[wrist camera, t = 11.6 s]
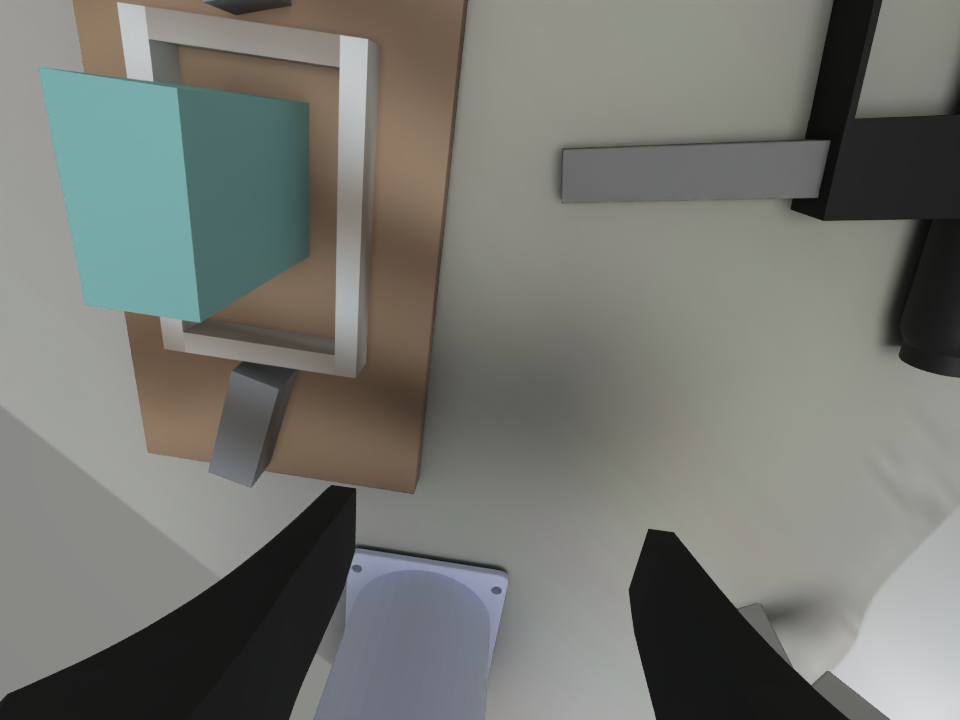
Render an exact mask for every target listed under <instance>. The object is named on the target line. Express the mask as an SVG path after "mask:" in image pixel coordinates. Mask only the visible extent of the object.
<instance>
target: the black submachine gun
mask: <svg viewBox="0 0 960 720" xmlns="http://www.w3.org/2000/svg"><path fill="white" fill-rule="evenodd" d="M881 4H882V0H834V2H833V7H832V12H831V17H830V22H829V27H828V32H827V37H826V41H825V46H824V51H823V56H822V61H821V66H820V71H819V76H818V81H817V86H816V91H815V96H814V101H813V106H812V110H811V115H810V120H809V122H808V127H807V132H806V136H805V139H804V140H775V141H748V142H721V143H694V144H668V145H641V146H615V147H588V148H563V158H562V196H561V199H562V203H596V202H642V201H689V200H736V199H783V198H793V200H792V205H791V210H794V211H797V212H799V213H802V214H805V215H808V216H811V217H814V218H817V219H820V220H823V221H838V220H901V219H933V220H932V223H931V226H930V229H929V232H928V235H927V239H926V242H925V245H924V248H923V251H922V255H921V258H920V261H919V264H918V267H917V271H916V274H915V277H914V280H913V283H912V286H911V290H910V293H909V296H908V299H907V302H906V306H905V309H904V312H903V315H902V319H901V334H902V337H903V343H902V346H901V349H900V352H899V358H900V359H901V360H902V361H904V362H905V363H907V364H909V365H911V366H913V367H915V368H918V369H921V370H924V371H927V372H931V373H935V374H939V375H944V376H950V377H958V378H960V115H937V116H912V117H887V118H863V119H855V114H856V110H857V106H858V102H859V97H860V93H861V89H862V85H863V80H864V76H865V72H866V68H867V63H868V59H869V55H870V51H871V46H872V42H873V38H874V34H875V29H876V25H877V21H878V17H879V12H880V8H881Z"/></svg>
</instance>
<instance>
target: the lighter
mask: <svg viewBox="0 0 960 720" xmlns="http://www.w3.org/2000/svg"><path fill="white" fill-rule="evenodd" d="M737 610H738V611H739V612H740V613H741V614H742V615H743V617H744V618H745V619H746V620H747V621H748V622H749V623H750V624H751V625H752V626H753V628H754V629H755V630H756V631H757V632H758V633H759V634H760V635H761V636H762V637H763V638H764V639H765V640H766V641H767V643H768V644H769V645H770V646H771V647H772V648H773V649H774V650H775V651H776V652H777V653H778V654H779V655H780V656H781V657H782V658H783V659H784V660H785V661H786V662H787V663H788V664H789V665H790V666H791V667H792V668H793V666H792V664H791V662H790V661H789V659H788V657H787V655H786V653H785V651H784V649H783V647H782V645H781V643H780V641H779V639H778V637H777V635H776V633H775V631H774V629H773V627H772V625H771V623H770V621H769V619H768V617H767V615H766V613H765V611H764V609H763V607H762V605H760V604H754V605H750V606H747V607H744V608H740V609H737ZM793 669H794V668H793ZM811 686H812V687H813V688H814V689H815V690H816V691H818V692H819V693H820V694H821V695H822V696H823V697H824V698H825V699H826V700H828V701H829V702H830V703H831V704H832V705H833V706H834V707H836V708H837V709H838V710H839V711H840V712H841V713H843V714H844V715H845V716H846V717H847V718H848V719H850V720H890V719H889V718H888V717H886V716H885V715H884V714H883V713H881V712H880V711H879V710H878V709H876V708H875V707H874V706H873V705H871V704H870V703H869V702H867V701H866V700H865V699H864V698H862V697H861V696H860V695H859V694H857V693H856V692H855V691H853V690H852V689H851V688H850V687H848V686H847V685H846V684H845V683H843V682H842V681H841V680H840V679H838V678H837V677H836V676H834V675H833V674H832V673H831V672H830V671H826V672H825V673H824V674H823V675H822V676H821V677H820V678H819V679H818V680H817V681H815V682H814V683H813V684H812V685H811Z"/></svg>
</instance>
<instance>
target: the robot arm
mask: <svg viewBox="0 0 960 720" xmlns="http://www.w3.org/2000/svg"><path fill="white" fill-rule="evenodd" d="M355 533H356V488H349V487H342V486H335V485H331V486H330V487H328V488H327V489H326V490H325V491H324V492H323V493H322V494H321V495H320V496H319V497H318V498H317V499H316V500H315V501H314V502H313V503H312V504H311V505H310V506H308V507H307V508H306V509H305V510H304V511H303V512H302V513H301V514H300V515H299V516H298V517H297V518H296V519H295V520H293V521H292V522H291V523H290V524H289V525H288V526H287V527H286V528H284V529H283V530H282V531H281V532H280V533H279V534H278V535H276V536H275V537H274V538H273V539H272V540H271V541H270V542H268V543H267V544H266V545H265V546H264V547H262V548H261V549H260V550H259V551H257V552H256V553H255V554H254V555H252V556H251V557H250V558H249V559H247V560H246V561H245V562H244V563H242V564H241V565H240V566H239V567H237V568H236V569H235V570H233V571H232V572H231V573H229V574H228V575H227V576H225V577H224V578H223V579H221V580H220V581H218V582H217V583H216V584H214V585H213V586H211V587H210V588H208V589H207V590H205V591H204V592H203V593H201V594H200V595H198V596H197V597H195V598H194V599H192V600H191V601H189V602H187V603H186V604H184V605H182V606H181V607H179V608H178V609H176V610H174V611H173V612H171V613H169V614H168V615H166V616H165V617H163V618H161V619H160V620H158V621H156V622H154V623H153V624H151V625H149V626H148V627H147V628H144V629H142V630H141V631H139V632H137V633H135V634H134V635H131V636H130V637H128V638H126V639H124V640H122V641H121V642H118V643H117V644H115V645H113V646H111V647H109V648H107V649H105V650H103V651H101V652H99V653H97V654H95V655H93V656H91V657H89V658H87V659H85V660H83V661H81V662H79V663H76V664H74V665H72V666H70V667H68V668H66V669H63V670H61V671H59V672H57V673H54V674H52V675H50V676H48V677H45V678H43V679H41V680H39V681H36V682H34V683H32V684H30V685H27V686H25V687H23V688H21V689H18V690H16V691H14V692H11V693H9V694H7V695H6V696H5V697H4V698H3V700H2V701H0V720H289V718H290V715H291V712H292V709H293V706H294V703H295V700H296V698H297V696H298V693H299V690H300V688H301V686H302V683H303V681H304V678H305V676H306V674H307V671H308V669H309V667H310V665H311V662H312V660H313V658H314V656H315V653H316V651H317V649H318V647H319V644H320V642H321V640H322V638H323V635H324V633H325V631H326V629H327V626H328V624H329V622H330V620H331V617H332V615H333V613H334V610H335V608H336V606H337V603H338V601H339V599H340V597H341V594H342V592H343V589H344V586H345V583H346V580H347V586H346V615H345V630H344V633H343V636H342V639H341V642H340V645H339V648H338V650H337V653H336V656H335V659H334V662H333V665H332V668H331V671H330V673H329V676H328V679H327V682H326V685H325V688H324V691H323V693H322V696H321V699H320V702H319V705H318V708H317V711H316V714H315V716H314V719H313V720H485V707H486V691H487V678H488V674H489V669H490V665H491V660H492V656H493V651H494V646H495V642H496V637H497V633H498V628H499V623H500V619H501V614H502V610H503V605H504V601H505V596H506V591H507V587H508V576H507V574H506V573H505V572H503V571H500V570H494V569H488V568H481V567H475V566H469V565H462V564H456V563H449V562H443V561H437V560H430V559H424V558H418V557H411V556H405V555H398V554H392V553H386V552H379V551H373V550H367V549H360V548H355ZM356 565H359V566H356ZM495 587H499V588H495ZM629 596H630V604H631V613H632V620H633V627H634V633H635V637H636V642H637V646H638V650H639V654H640V658H641V662H642V666H643V670H644V673H645V677H646V681H647V685H648V689H649V693H650V697H651V701H652V705H653V708H654V712H655V716H656V720H850V719H848V718H847V717H846V716H845V715H844V714H843V713H841V712H840V711H839V710H838V709H837V708H836V707H834V706H833V705H832V704H831V703H830V702H829V701H828V700H826V699H825V698H824V697H823V696H822V695H821V694H820V693H819V692H818V691H816V690H815V689H814V688H813V687H812V686H811V685H810V684H809V683H808V682H807V681H806V680H805V679H804V678H803V677H802V676H801V675H800V674H799V673H798V672H796V671H795V670H794V669H793V668H792V667H791V666H790V665H789V664H788V663H787V662H786V661H785V660H784V659H783V658H782V657H781V656H780V655H779V654H778V653H777V652H776V651H775V650H774V649H773V648H772V647H771V646H770V645H769V644H768V643H767V641H766V640H765V639H764V638H763V637H762V636H761V635H760V634H759V633H758V632H757V631H756V630H755V629H754V628H753V626H752V625H751V624H750V623H749V622H748V621H747V620H746V619H745V618H744V617H743V615H742V614H741V613H740V612H739V611H738V610H737V609H736V607H735V606H734V605H733V604H732V603H731V602H730V601H729V599H728V598H727V597H726V596H725V595H724V593H723V592H722V591H721V590H720V589H719V587H718V586H717V585H716V584H715V583H714V581H713V580H712V579H711V578H710V577H709V575H708V574H707V573H706V572H705V570H704V569H703V568H702V567H701V565H700V564H699V563H698V562H697V561H696V559H695V558H694V557H693V556H692V554H691V553H690V552H689V551H688V549H687V548H686V547H685V546H684V544H683V543H682V542H681V541H680V539H679V538H678V537H677V536H676V535H675V533H674V532H668V531H660V530H653V529H648V532H647V535H646V538H645V541H644V544H643V547H642V550H641V554H640V557H639V560H638V563H637V566H636V569H635V572H634V575H633V578H632V581H631V584H630V587H629Z"/></svg>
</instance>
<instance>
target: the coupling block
mask: <svg viewBox="0 0 960 720" xmlns="http://www.w3.org/2000/svg"><path fill="white" fill-rule="evenodd" d="M38 69H39V74H40V79H41V84H42V89H43V94H44V100H45V105H46V110H47V115H48V120H49V125H50V130H51V135H52V140H53V145H54V150H55V155H56V160H57V165H58V170H59V175H60V180H61V186H62V191H63V196H64V201H65V206H66V211H67V216H68V221H69V226H70V231H71V236H72V241H73V246H74V251H75V256H76V261H77V266H78V271H79V277H80V282H81V287H82V292H83V297H84V302H85V305H88V306H95V307H101V308H108V309H114V310H120V311H127V312H133V313H140V314H146V315H153V316H159V317H166V318H172V319H179V320H185V321H192V322H198V323H201V322H203V321H204V320H206V319H207V318H209V317H211V316H212V315H214V314H216V313H217V312H219V311H221V310H222V309H224V308H225V307H227V306H229V305H230V304H232V303H234V302H235V301H237V300H239V299H240V298H242V297H243V296H245V295H247V294H248V293H250V292H252V291H253V290H255V289H257V288H258V287H260V286H261V285H263V284H265V283H266V282H268V281H270V280H271V279H273V278H275V277H276V276H278V275H279V274H281V273H283V272H284V271H286V270H288V269H289V268H291V267H293V266H294V265H296V264H297V263H299V262H301V261H302V260H304V259H306V258H307V257H309V256H310V185H309V103H305V102H298V101H291V100H285V99H278V98H271V97H265V96H258V95H252V94H245V93H238V92H232V91H225V90H217V89H209V88H201V87H193V86H185V85H177V84H169V83H161V82H153V81H145V80H137V79H129V78H121V77H112V76H104V75H96V74H88V73H80V72H72V71H64V70H56V69H48V68H40V67H38Z"/></svg>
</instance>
